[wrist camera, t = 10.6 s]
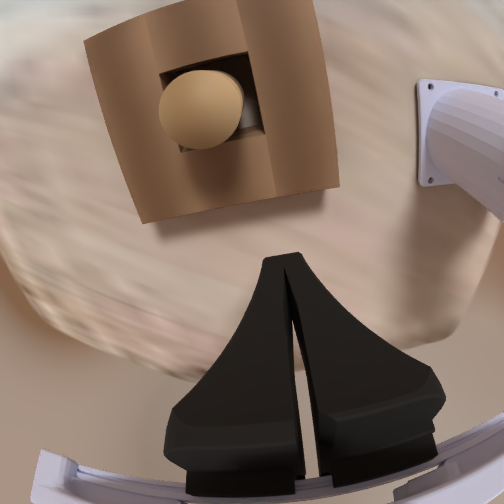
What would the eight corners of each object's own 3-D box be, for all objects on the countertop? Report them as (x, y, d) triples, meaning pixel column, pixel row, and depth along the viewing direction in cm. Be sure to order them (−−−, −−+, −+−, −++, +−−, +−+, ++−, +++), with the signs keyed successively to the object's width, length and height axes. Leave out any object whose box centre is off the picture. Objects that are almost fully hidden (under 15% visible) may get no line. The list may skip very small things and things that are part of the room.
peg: (239, 65, 15) (232, 60, 9) (250, 115, 17) (250, 140, 11) (185, 78, 15) (148, 83, 9) (197, 127, 17) (170, 159, 11)
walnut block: (297, -6, 12) (307, -19, 9) (327, 169, 19) (339, 186, 16) (106, 43, 13) (83, 41, 11) (155, 203, 20) (142, 224, 17)
